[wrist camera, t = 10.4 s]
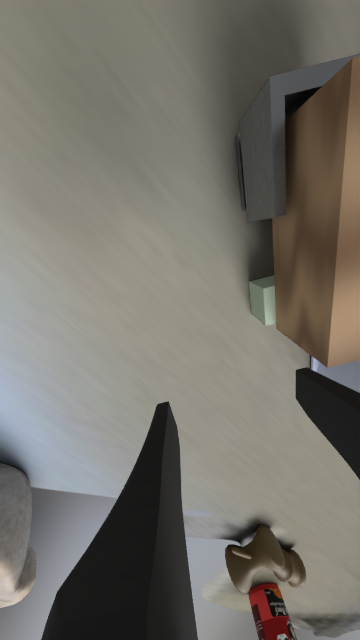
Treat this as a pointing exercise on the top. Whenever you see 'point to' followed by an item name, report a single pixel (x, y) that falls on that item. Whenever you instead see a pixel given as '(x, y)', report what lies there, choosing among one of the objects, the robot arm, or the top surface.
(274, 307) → the block
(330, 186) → the walnut rail
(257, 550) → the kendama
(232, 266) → the top surface
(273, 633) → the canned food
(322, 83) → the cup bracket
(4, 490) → the mortar
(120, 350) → the top surface
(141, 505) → the robot arm
